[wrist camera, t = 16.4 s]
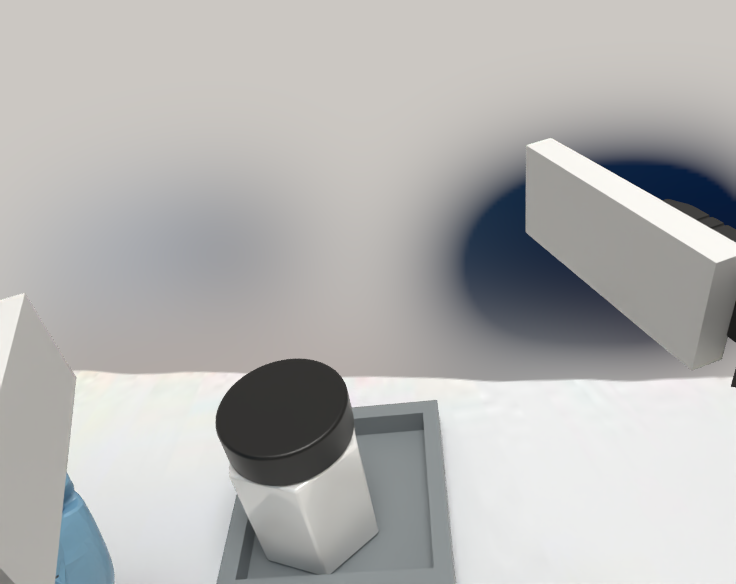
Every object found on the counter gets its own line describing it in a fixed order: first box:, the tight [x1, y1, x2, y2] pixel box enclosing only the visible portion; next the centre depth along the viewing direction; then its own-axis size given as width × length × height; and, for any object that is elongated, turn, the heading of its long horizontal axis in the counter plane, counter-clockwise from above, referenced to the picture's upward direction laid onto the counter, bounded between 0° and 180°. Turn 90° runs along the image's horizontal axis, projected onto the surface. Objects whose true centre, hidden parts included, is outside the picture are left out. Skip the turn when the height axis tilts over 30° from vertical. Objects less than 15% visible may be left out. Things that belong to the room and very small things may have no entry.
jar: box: [216, 359, 378, 575], centre depth 40 cm, size 9×8×12 cm
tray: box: [216, 400, 456, 584], centre depth 43 cm, size 15×15×3 cm
